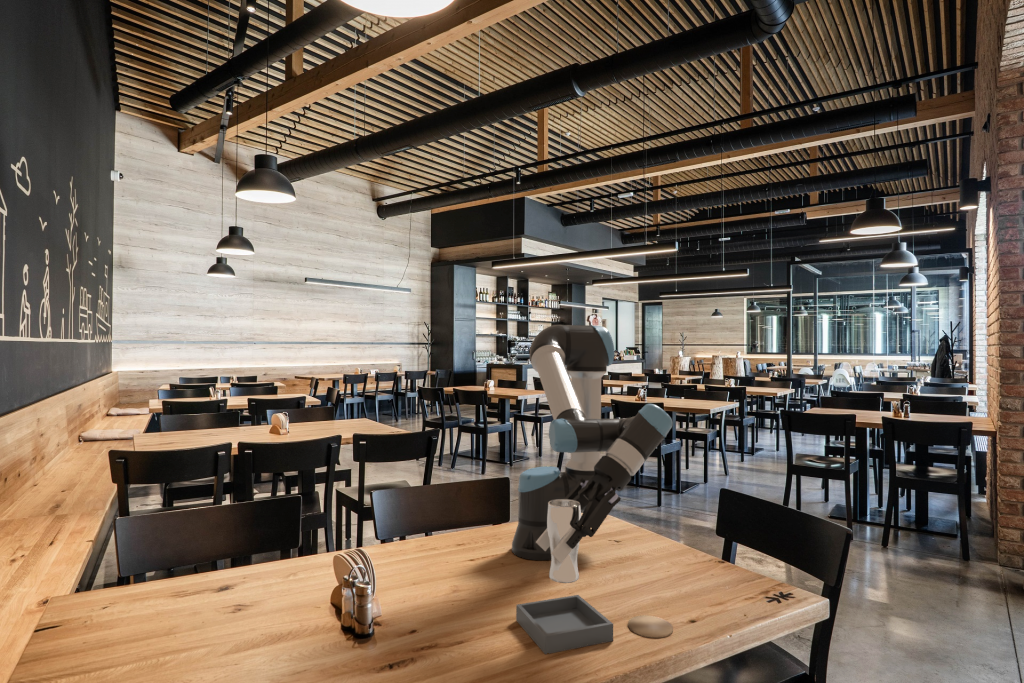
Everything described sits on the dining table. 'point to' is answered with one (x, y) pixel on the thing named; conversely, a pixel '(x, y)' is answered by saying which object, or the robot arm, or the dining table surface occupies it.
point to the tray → (563, 623)
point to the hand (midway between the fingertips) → (548, 552)
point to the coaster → (650, 626)
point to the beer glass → (558, 526)
